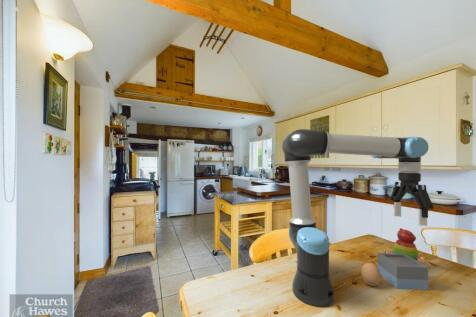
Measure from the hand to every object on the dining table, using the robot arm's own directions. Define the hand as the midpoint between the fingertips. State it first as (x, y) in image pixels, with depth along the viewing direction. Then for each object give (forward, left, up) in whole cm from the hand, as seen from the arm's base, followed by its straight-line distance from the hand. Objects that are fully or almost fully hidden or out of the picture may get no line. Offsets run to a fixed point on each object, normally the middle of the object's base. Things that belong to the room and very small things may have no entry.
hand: (409, 220), depth 87 cm
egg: (-20, -5, -26) cm, 33 cm away
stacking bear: (+7, +12, -26) cm, 29 cm away
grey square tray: (-5, -1, -26) cm, 26 cm away
